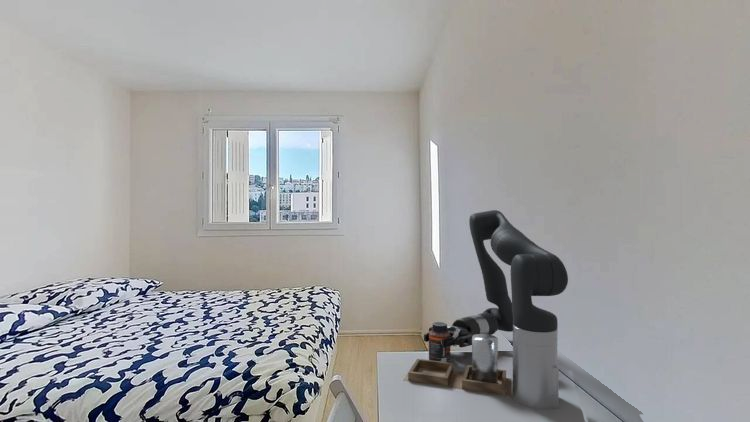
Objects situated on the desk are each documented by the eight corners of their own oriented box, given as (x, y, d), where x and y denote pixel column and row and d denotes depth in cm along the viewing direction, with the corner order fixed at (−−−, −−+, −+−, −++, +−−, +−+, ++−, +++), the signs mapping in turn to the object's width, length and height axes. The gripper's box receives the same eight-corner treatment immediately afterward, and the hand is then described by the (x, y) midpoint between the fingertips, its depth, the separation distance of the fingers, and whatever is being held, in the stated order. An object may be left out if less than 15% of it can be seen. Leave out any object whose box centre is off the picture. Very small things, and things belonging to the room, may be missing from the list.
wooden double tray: (511, 383, 98) (511, 370, 98) (510, 401, 88) (510, 387, 88) (413, 369, 106) (413, 357, 106) (403, 384, 97) (403, 371, 97)
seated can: (498, 380, 97) (498, 335, 97) (497, 390, 91) (497, 343, 91) (473, 376, 99) (473, 332, 99) (470, 386, 93) (470, 340, 93)
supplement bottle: (450, 369, 106) (450, 327, 106) (428, 367, 108) (428, 326, 108) (450, 361, 112) (450, 321, 112) (429, 359, 113) (429, 320, 113)
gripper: (451, 312, 125) (414, 321, 114) (491, 321, 114) (454, 333, 103) (451, 335, 125) (414, 347, 114) (491, 347, 114) (454, 362, 103)
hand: (433, 340), depth 108 cm, fingers closed on supplement bottle, 6 cm apart
